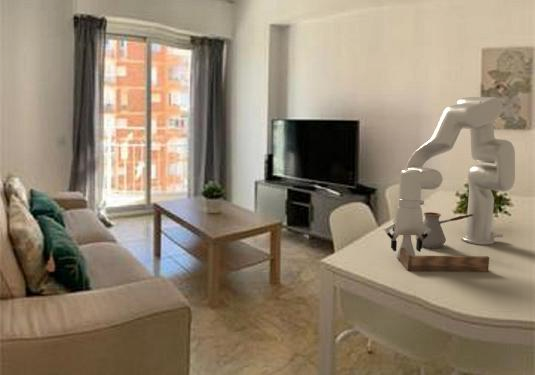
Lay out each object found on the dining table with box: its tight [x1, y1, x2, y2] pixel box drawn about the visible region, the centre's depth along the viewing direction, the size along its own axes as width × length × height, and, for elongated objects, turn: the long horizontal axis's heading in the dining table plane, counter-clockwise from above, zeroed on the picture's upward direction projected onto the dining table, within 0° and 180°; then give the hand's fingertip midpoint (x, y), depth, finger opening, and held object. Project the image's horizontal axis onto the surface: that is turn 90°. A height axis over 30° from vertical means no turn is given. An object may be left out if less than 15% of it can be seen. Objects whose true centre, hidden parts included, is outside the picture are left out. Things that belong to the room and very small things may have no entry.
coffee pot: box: [415, 211, 475, 249], centre depth 183 cm, size 21×12×15 cm, turn 54°
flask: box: [395, 235, 417, 259], centre depth 172 cm, size 7×7×10 cm
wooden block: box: [399, 248, 490, 273], centre depth 163 cm, size 27×10×5 cm, turn 90°
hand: (406, 250), depth 172 cm, fingers open, 8 cm apart
